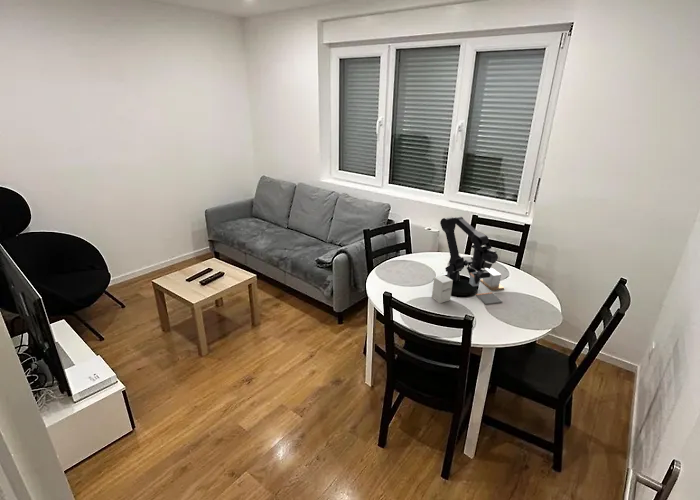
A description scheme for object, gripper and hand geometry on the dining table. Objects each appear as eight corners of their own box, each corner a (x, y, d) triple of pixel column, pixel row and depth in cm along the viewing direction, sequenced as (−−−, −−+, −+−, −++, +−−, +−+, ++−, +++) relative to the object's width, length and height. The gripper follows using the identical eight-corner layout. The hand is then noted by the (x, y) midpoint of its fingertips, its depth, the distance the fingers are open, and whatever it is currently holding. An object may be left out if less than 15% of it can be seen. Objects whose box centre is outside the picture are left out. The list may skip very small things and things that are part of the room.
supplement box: (440, 303, 206) (442, 282, 201) (431, 297, 212) (433, 277, 207) (450, 300, 209) (453, 280, 204) (441, 294, 215) (444, 274, 210)
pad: (485, 304, 205) (486, 303, 205) (475, 295, 214) (476, 294, 214) (502, 302, 208) (502, 301, 207) (491, 293, 217) (491, 292, 216)
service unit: (491, 290, 220) (494, 276, 216) (480, 281, 230) (482, 267, 227) (503, 289, 222) (506, 275, 218) (491, 280, 232) (494, 266, 229)
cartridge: (472, 286, 215) (474, 275, 212) (468, 283, 219) (470, 272, 216) (479, 285, 216) (480, 274, 213) (475, 282, 220) (477, 271, 217)
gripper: (501, 262, 204) (496, 288, 210) (482, 249, 221) (478, 273, 227) (482, 264, 202) (478, 290, 208) (464, 250, 218) (461, 275, 224)
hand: (474, 282), depth 217 cm, fingers closed on cartridge, 4 cm apart
